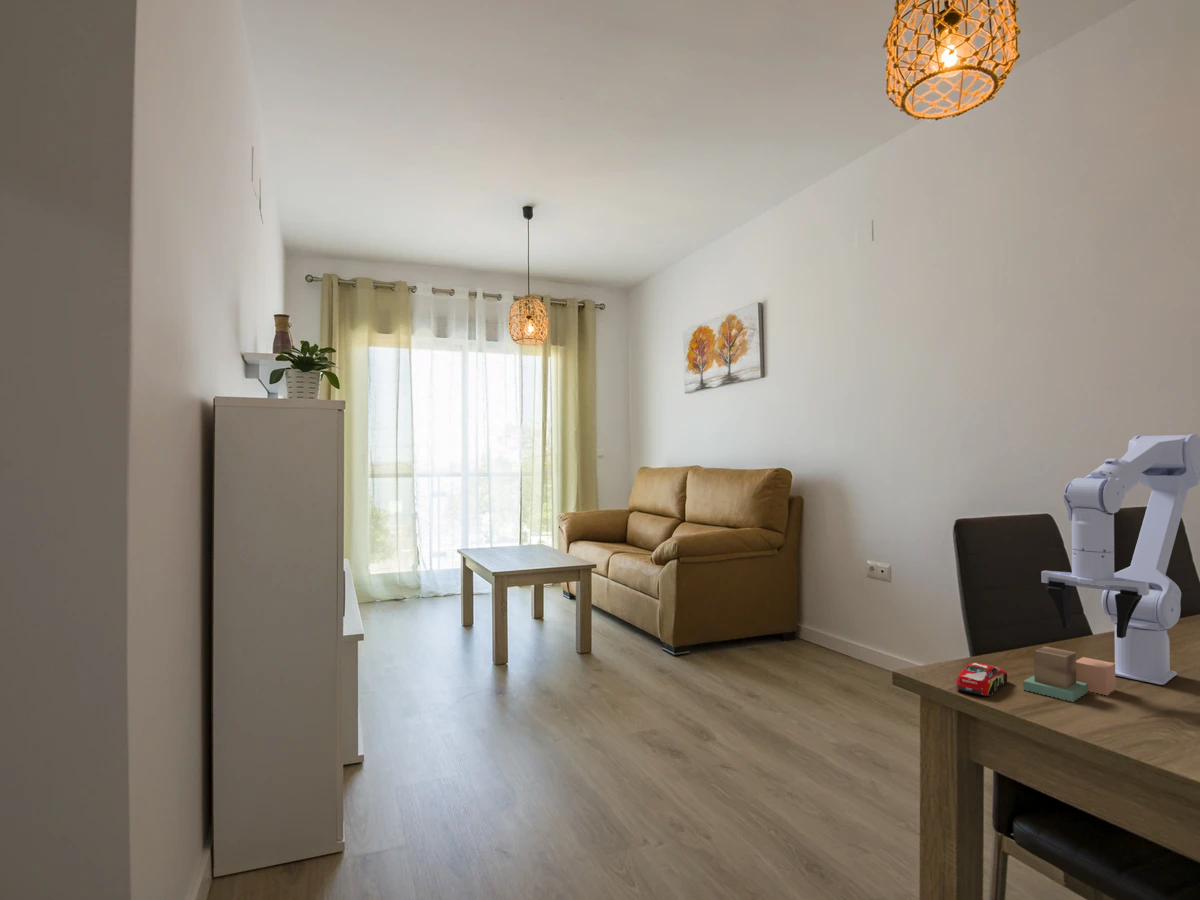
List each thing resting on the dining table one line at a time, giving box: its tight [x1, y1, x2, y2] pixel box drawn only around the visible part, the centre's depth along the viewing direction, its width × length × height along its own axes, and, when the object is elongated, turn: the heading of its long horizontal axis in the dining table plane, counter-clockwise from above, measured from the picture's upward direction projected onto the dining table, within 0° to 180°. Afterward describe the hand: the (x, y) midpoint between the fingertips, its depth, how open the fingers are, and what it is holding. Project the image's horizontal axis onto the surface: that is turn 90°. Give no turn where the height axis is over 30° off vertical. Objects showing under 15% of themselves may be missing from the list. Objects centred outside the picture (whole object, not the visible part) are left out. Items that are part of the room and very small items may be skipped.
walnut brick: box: [1033, 645, 1077, 689], centre depth 111 cm, size 4×4×5 cm
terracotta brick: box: [1076, 656, 1116, 696], centre depth 113 cm, size 4×4×4 cm
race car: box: [955, 662, 1008, 697], centre depth 114 cm, size 13×5×4 cm, turn 134°
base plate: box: [1022, 675, 1089, 703], centre depth 111 cm, size 7×7×2 cm
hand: (1093, 632), depth 113 cm, fingers open, 7 cm apart
